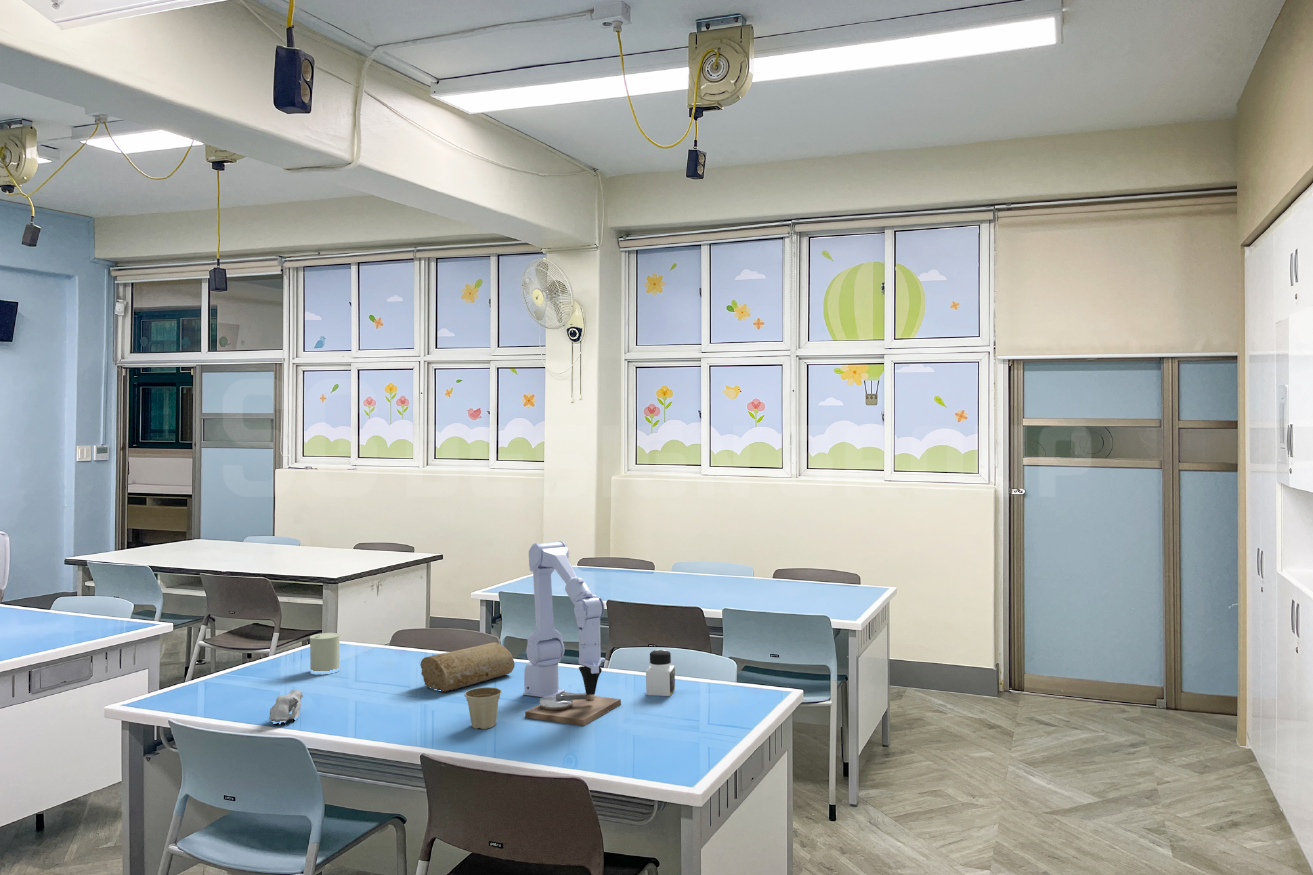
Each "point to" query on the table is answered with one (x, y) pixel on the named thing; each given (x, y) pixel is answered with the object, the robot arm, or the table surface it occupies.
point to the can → (324, 651)
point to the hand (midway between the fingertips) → (590, 693)
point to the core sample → (466, 666)
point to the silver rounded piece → (563, 700)
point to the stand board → (576, 711)
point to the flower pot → (483, 706)
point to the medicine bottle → (660, 674)
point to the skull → (286, 706)
